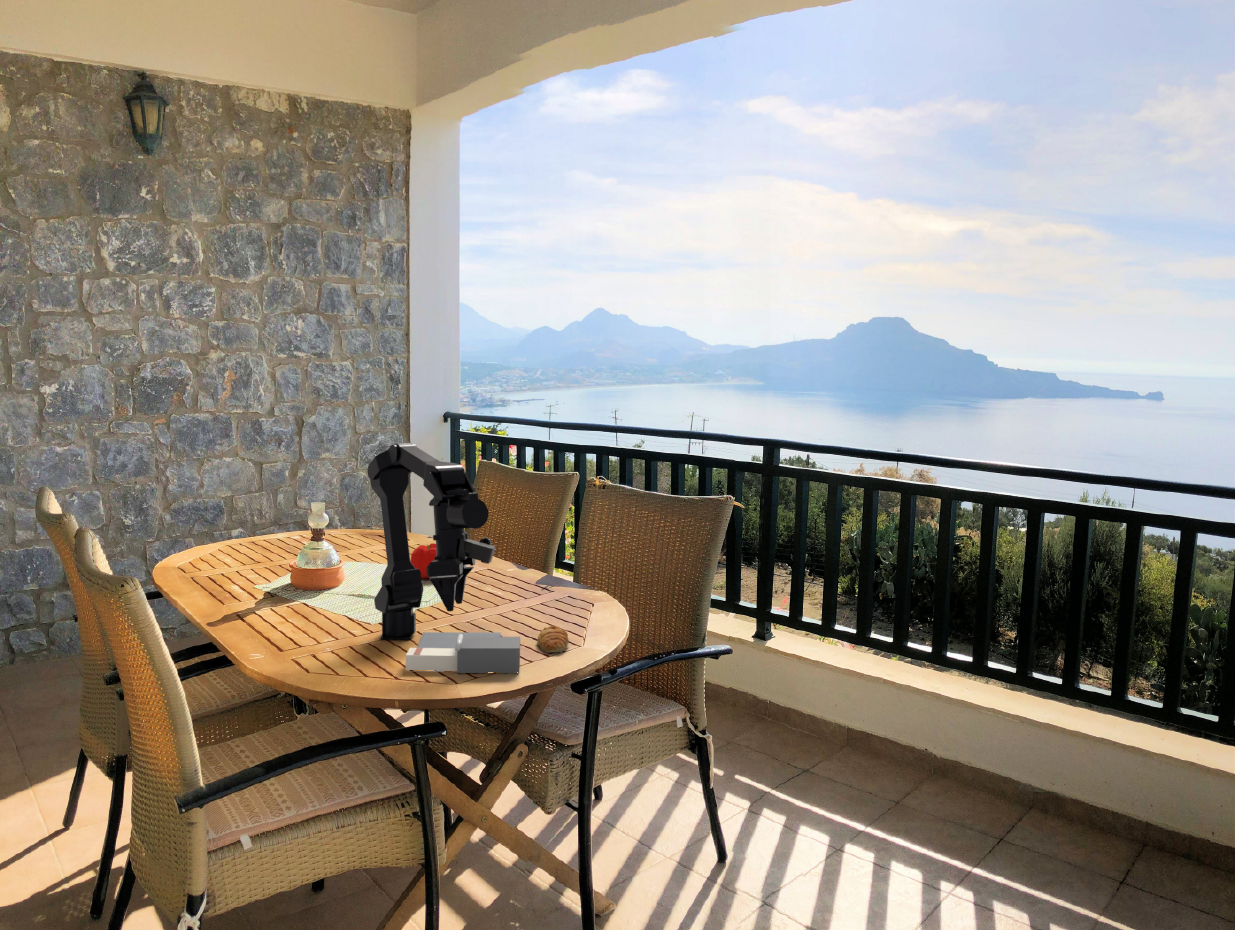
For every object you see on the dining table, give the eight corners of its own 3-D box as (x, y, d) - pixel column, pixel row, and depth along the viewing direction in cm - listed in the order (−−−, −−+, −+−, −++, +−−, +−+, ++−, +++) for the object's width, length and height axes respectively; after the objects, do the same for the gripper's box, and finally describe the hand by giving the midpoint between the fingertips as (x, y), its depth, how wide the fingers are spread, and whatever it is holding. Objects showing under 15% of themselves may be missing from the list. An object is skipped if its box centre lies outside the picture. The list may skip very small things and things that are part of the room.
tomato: (444, 583, 235) (444, 550, 234) (402, 580, 237) (403, 547, 236) (457, 574, 245) (458, 543, 244) (417, 571, 247) (417, 540, 246)
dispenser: (454, 673, 167) (454, 646, 166) (458, 660, 174) (458, 633, 173) (519, 673, 168) (519, 646, 167) (519, 660, 175) (520, 633, 175)
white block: (405, 672, 168) (405, 654, 167) (409, 664, 172) (410, 647, 172) (477, 673, 168) (478, 655, 168) (480, 665, 173) (480, 648, 172)
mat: (415, 654, 177) (415, 651, 177) (423, 634, 190) (423, 632, 190) (498, 654, 179) (498, 651, 178) (500, 635, 191) (500, 632, 191)
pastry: (571, 654, 180) (571, 637, 180) (539, 655, 179) (539, 638, 179) (566, 640, 190) (566, 624, 189) (536, 641, 189) (536, 624, 188)
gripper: (483, 528, 160) (488, 612, 160) (497, 522, 178) (502, 597, 178) (423, 532, 160) (429, 616, 160) (443, 526, 178) (448, 601, 178)
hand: (455, 607), depth 169 cm, fingers open, 9 cm apart
